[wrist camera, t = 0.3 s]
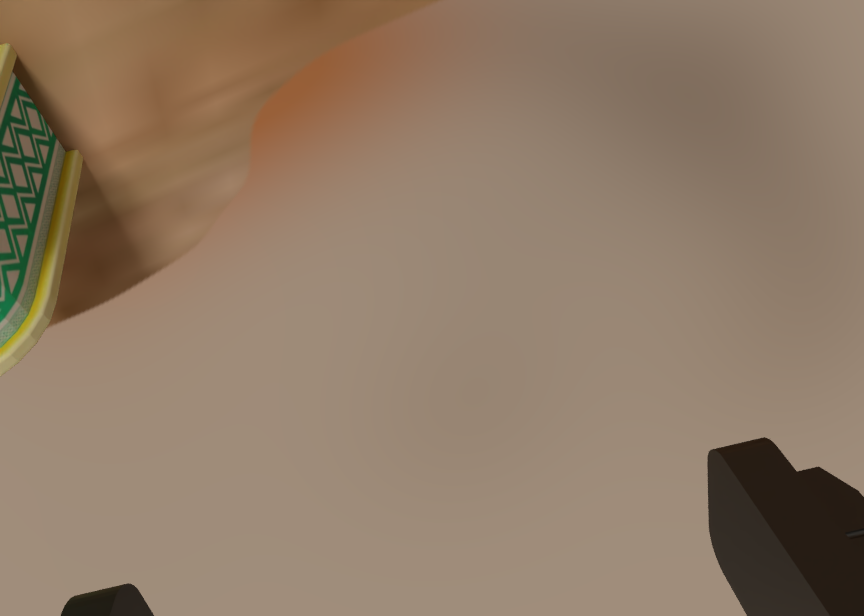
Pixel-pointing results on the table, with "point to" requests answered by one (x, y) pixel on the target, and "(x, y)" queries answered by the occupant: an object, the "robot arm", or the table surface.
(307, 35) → the table surface
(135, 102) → the table surface
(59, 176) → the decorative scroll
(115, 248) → the table surface
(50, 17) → the table surface
